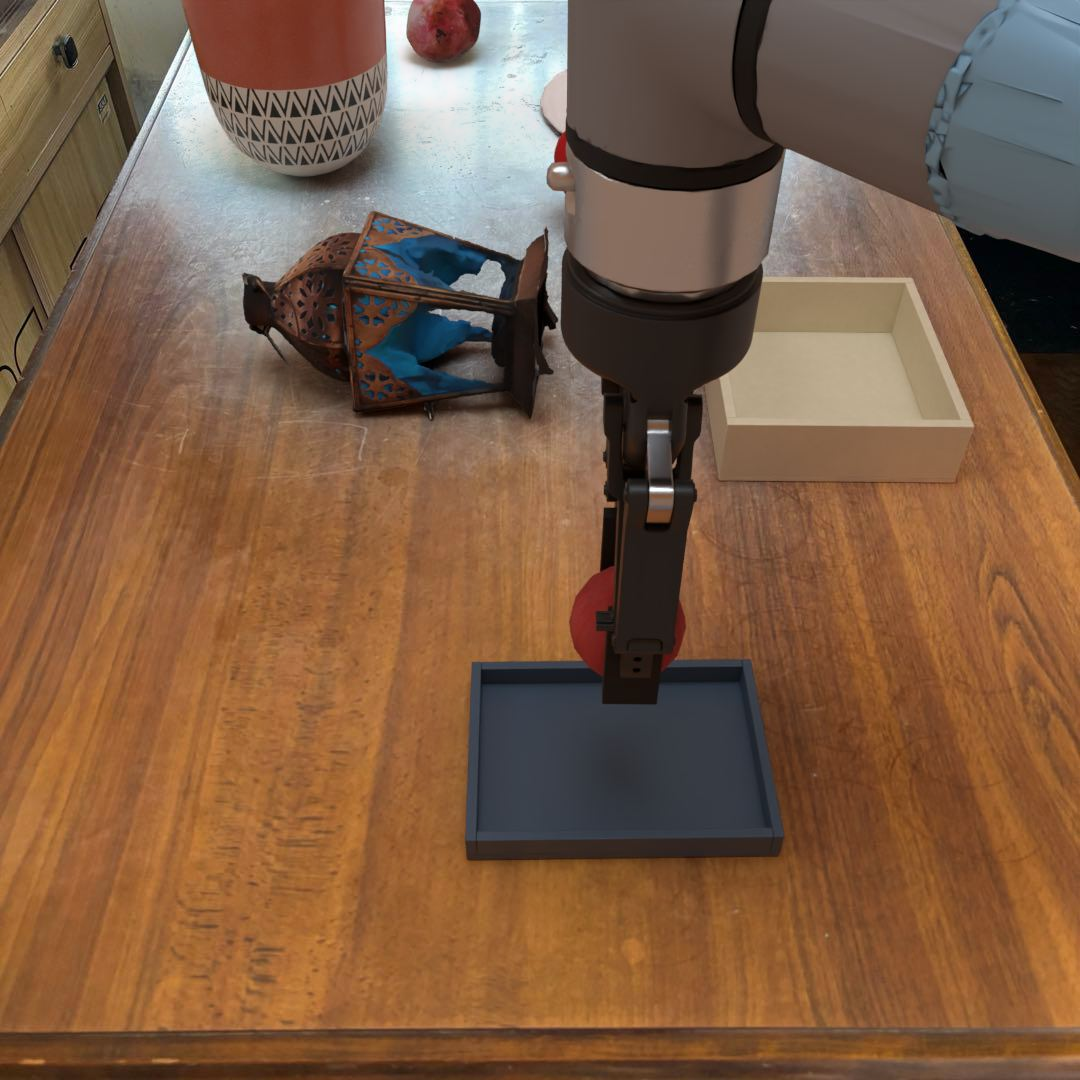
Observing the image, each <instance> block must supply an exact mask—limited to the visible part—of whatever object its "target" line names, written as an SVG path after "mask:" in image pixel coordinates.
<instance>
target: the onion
mask: <svg viewBox="0 0 1080 1080" xmlns="http://www.w3.org/2000/svg"><path fill="white" fill-rule="evenodd" d="M613 587H614V566H612V567H609V568H607V569H605V570H603V571H601V572H600V571H599V572H596V573H594V574H593V575H592V576H590V578H589V579H588V580H586V583H585V584H584V585H583V586H582V587H581V589H580V590H579V591H578V593H577V594H576V595H575V598H574V600H573V605H572V609H571V612H570V617H569V621H568V625H569V632H570V636H571V641H572V644H573V648H574V650H575V652H576V653H577V654H578V656H579V657H580V658H581V661H584V662H585V664H586V665H587V666H588V667H590V668H591V669H592V670H594V671H595V672H597V673H598V674H600V675H601V676H603V668H604V654H605V640H606V631H596V611H608V606H613ZM686 631H687V623H686V616H685V612H684V610H683V606H682V603H681V599H679V603H678V611H677V619H676V627H675V638H676V643H675V646H673V652H672V654H663V660H662V668H661V672H662V671H663V670H664V669H665V668H666V667H667V666H668V665H669V664H670V663H671V662H672V661H673V660H676V658H677V657H678V655H679V653H680V650H681V647H682V644H683V640H684V637H685V633H686Z"/></svg>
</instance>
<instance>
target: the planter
mask: <svg viewBox="0 0 1080 1080" xmlns="http://www.w3.org/2000/svg"><path fill="white" fill-rule="evenodd" d="M180 2H181V6H182V9H183V13H184V16H185V20H186V24H187V28H188V32H189V36H190V39H191V43H192V47H193V51H194V54H195V57H196V60H197V64H198V68H199V72H200V75H201V79H202V82H203V87H204V89H205V93H206V95H207V98H208V101H209V104H210V106H211V108H212V111H213V113H214V115H215V117H216V119H217V121H218V123H219V125H220V126H221V127H220V128H222V130H223V131H224V133H225V135H226V136H227V137H228V139H229V141H231V143H232V144H233V145H234V146H235V147H236V148H237V149H238V150H239V151H240V152H241V153H243V154H244V155H245V156H246V157H248V158H249V159H250V160H252V161H254V162H255V163H256V164H259V165H260V166H261V167H263V168H266V169H268V170H270V171H272V172H276V173H278V174H282V175H285V176H290V177H291V176H293V177H315V176H316V177H317V176H321V175H326V174H328V173H329V174H330V173H332V172H336V171H337V170H339V169H341V168H344V167H345V166H347V165H348V164H350V163H351V162H352V161H353V160H355V159H356V158H358V156H359V155H360V154H361V153H362V152H364V150H365V149H366V148H367V147H368V145H369V144H370V143H371V141H372V140H373V138H374V137H375V135H376V133H377V132H378V130H379V127H380V125H381V122H382V119H383V115H384V113H385V107H386V100H387V92H388V52H387V51H388V49H387V23H386V21H387V20H386V4H385V0H180Z"/></svg>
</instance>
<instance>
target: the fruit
mask: <svg viewBox="0 0 1080 1080" xmlns="http://www.w3.org/2000/svg"><path fill="white" fill-rule="evenodd" d="M481 23H482V12H481V9H480V7H479V5H478V3H476V1H475V0H412V2H411V3H410V6H409V8H408V13H407V19H406V31H405V35H406V38H407V41H408V43H409V45H410V46H411V48H412V50H413V51H414V52H415V53H416V55H418V56H419V57H420V58H423V59H425V60H429V61H433V62H438V63H443V62H451V61H454V60H456V59H457V58H459V57H461V56H462V55H463V54H465V53H468V52H469V50H471V49H472V48H473V47H475V45H476V43H477V42H478V40H479V38H480V37H479V36H480V31H481Z"/></svg>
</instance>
